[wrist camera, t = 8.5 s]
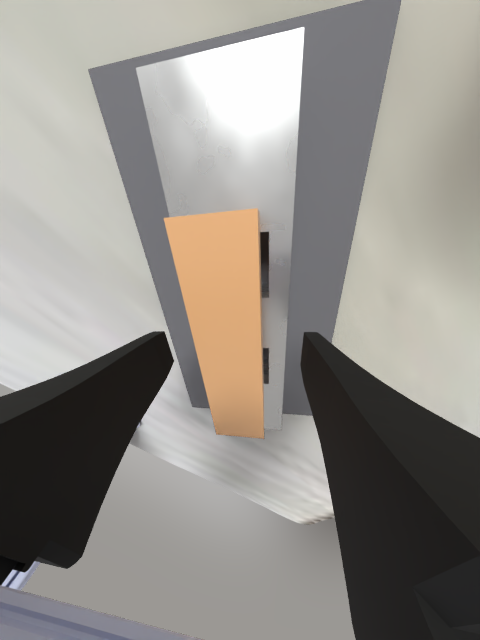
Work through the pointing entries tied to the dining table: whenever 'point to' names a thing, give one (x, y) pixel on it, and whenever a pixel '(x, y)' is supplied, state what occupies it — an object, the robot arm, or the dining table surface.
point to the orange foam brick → (224, 311)
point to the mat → (311, 171)
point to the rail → (235, 157)
